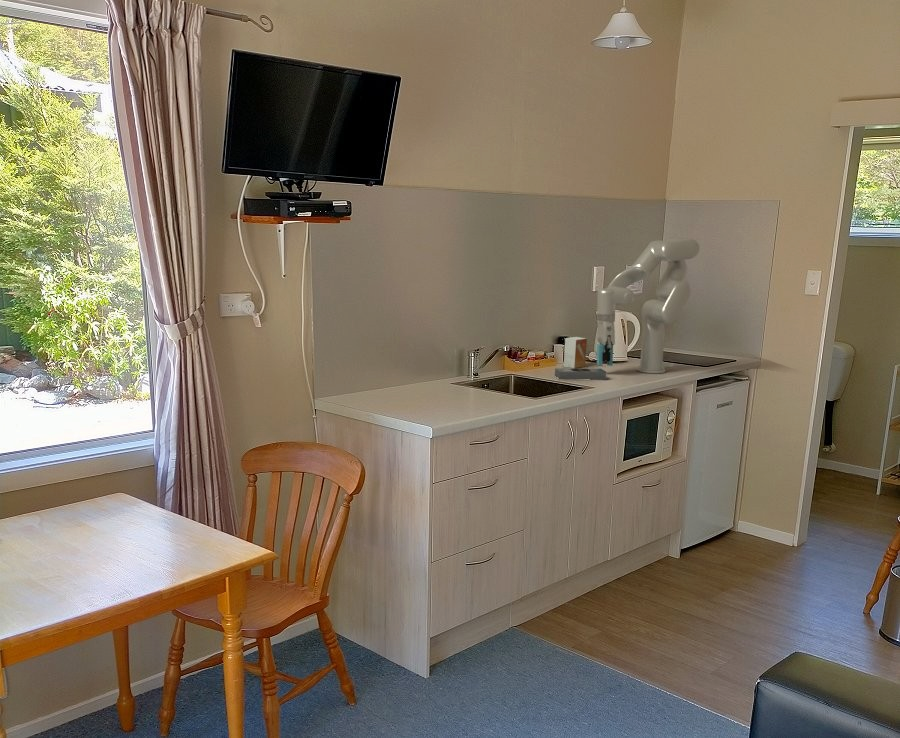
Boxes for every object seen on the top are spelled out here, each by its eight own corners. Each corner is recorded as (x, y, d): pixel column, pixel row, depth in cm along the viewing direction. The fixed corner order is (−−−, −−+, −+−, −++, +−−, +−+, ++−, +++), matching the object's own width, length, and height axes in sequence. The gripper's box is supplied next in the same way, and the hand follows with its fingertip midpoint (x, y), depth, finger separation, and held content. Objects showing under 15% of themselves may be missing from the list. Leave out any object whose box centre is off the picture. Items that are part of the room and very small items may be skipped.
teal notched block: (610, 364, 348) (610, 343, 346) (612, 365, 345) (613, 344, 343) (596, 364, 347) (597, 344, 346) (598, 366, 345) (599, 345, 343)
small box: (574, 368, 358) (576, 339, 356) (563, 366, 363) (564, 337, 360) (585, 366, 364) (587, 338, 361) (574, 364, 368) (575, 336, 366)
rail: (600, 376, 341) (601, 368, 341) (605, 380, 335) (606, 371, 334) (554, 376, 339) (555, 368, 338) (558, 379, 332) (559, 371, 331)
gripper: (620, 320, 335) (619, 363, 338) (608, 315, 351) (607, 356, 354) (603, 321, 334) (602, 364, 338) (591, 315, 350) (590, 357, 353)
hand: (604, 359), depth 346 cm, fingers closed on teal notched block, 3 cm apart
